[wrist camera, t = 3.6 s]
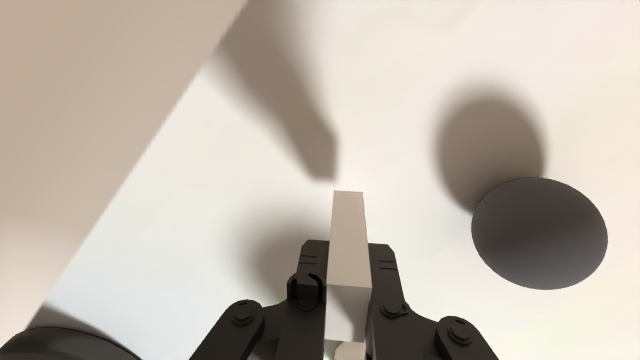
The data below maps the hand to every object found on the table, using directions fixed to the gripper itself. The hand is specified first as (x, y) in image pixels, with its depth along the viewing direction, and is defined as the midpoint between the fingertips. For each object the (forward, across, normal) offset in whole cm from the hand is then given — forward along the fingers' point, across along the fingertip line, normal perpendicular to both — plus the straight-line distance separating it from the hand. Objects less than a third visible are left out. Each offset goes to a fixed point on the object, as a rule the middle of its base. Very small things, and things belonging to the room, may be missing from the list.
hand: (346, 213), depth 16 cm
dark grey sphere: (0, +9, 0) cm, 9 cm away
